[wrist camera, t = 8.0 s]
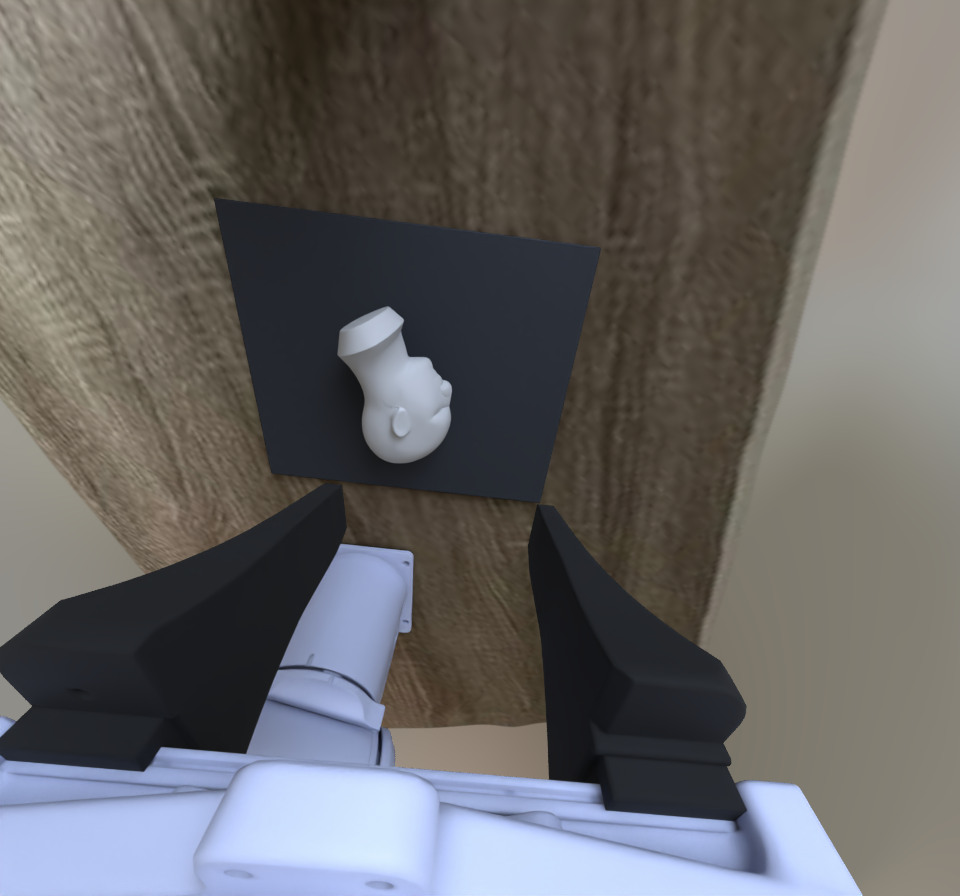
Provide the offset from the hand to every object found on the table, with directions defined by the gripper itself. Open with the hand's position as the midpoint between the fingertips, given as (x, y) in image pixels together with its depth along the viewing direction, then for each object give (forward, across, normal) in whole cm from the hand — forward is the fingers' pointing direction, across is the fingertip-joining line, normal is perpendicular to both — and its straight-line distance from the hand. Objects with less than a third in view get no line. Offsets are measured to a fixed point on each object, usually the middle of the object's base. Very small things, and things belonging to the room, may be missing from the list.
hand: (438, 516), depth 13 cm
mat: (+9, +3, -2) cm, 10 cm away
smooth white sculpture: (+9, +3, -2) cm, 10 cm away
